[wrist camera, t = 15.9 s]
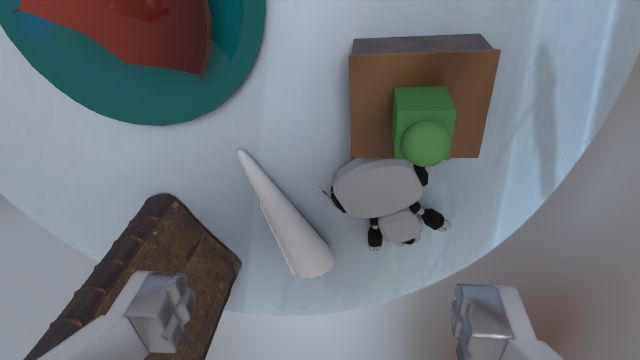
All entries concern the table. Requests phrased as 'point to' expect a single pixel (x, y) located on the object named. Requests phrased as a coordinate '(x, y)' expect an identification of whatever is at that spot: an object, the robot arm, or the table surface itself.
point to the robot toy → (385, 199)
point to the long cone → (288, 225)
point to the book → (161, 256)
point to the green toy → (422, 124)
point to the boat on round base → (139, 52)
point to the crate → (420, 71)
